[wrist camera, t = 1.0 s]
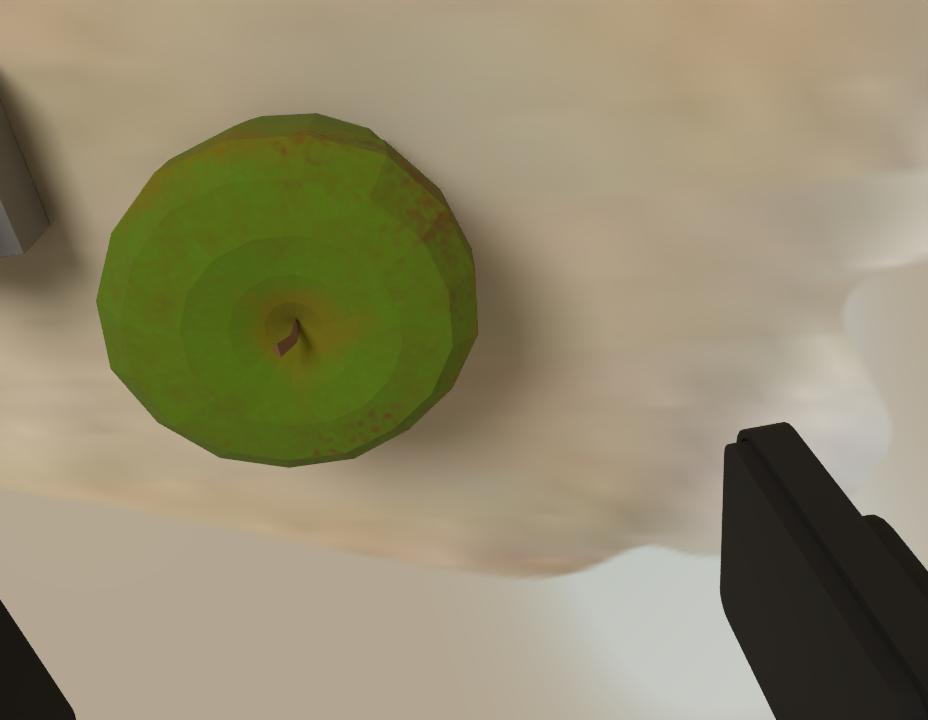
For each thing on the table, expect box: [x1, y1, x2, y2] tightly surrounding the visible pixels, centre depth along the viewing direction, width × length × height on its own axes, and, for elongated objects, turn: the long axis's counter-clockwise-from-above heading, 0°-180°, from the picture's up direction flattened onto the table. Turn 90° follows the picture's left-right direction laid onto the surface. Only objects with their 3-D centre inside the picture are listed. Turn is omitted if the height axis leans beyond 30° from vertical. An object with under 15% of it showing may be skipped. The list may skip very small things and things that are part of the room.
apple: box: [96, 113, 478, 468], centre depth 29 cm, size 12×12×11 cm
